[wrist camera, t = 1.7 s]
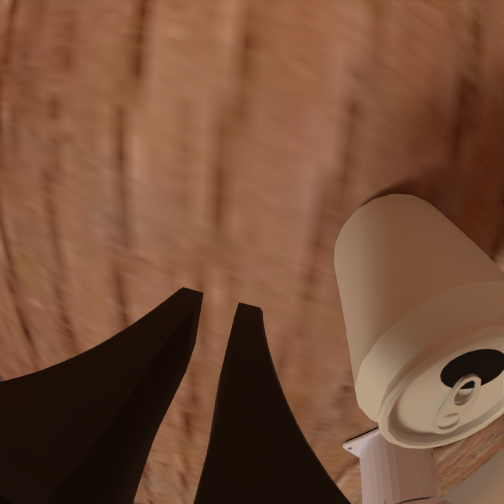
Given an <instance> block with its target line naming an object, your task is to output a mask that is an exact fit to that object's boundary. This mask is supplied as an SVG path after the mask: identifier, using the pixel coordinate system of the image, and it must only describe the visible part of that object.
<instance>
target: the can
mask: <svg viewBox="0 0 504 504" xmlns="http://www.w3.org/2000/svg"><path fill="white" fill-rule="evenodd" d="M334 267H335V272H336V277H337V282H338V287H339V293H340V298H341V303H342V309H343V315H344V320H345V326H346V332H347V338H348V344H349V351H350V357H351V364H352V371H353V378H354V385H355V391H356V396H357V401H358V406H359V407H360V408H361V409H362V410H363V411H364V413H365V414H366V415H367V416H368V417H369V418H370V419H371V420H373V421H375V422H377V423H378V425H379V432H380V433H381V434H382V435H383V436H384V437H385V438H386V439H387V441H388V442H391V443H393V444H396V445H399V446H401V447H404V448H417V449H425V448H432V447H437V446H443V445H446V444H449V443H452V442H455V441H458V440H461V439H463V438H466V437H468V436H470V435H471V434H473V433H475V432H477V431H479V430H481V429H483V428H484V427H486V426H487V425H489V424H490V423H491V422H493V421H494V420H495V419H497V418H498V417H499V416H501V415H502V414H503V413H504V272H503V271H502V270H501V269H500V268H499V267H498V266H497V265H496V264H495V263H494V262H493V261H492V260H491V259H490V258H489V257H488V256H487V255H486V254H485V253H484V252H483V251H482V250H481V249H480V248H479V247H478V246H477V245H476V244H475V243H474V242H473V241H472V240H471V239H470V238H469V237H468V236H467V235H466V234H465V233H463V232H462V231H461V230H460V229H459V228H458V227H457V226H456V225H455V224H453V223H452V222H451V221H450V220H449V219H448V218H447V217H446V216H444V215H443V214H442V213H441V212H440V211H439V210H437V209H436V208H435V207H434V206H433V205H432V204H430V203H429V202H427V201H425V200H423V199H420V198H418V197H416V196H414V195H406V194H390V195H386V196H383V197H379V198H375V199H373V200H371V201H370V202H368V203H367V204H365V205H363V206H362V207H360V208H359V209H357V210H356V211H355V212H354V213H353V215H352V216H351V217H350V218H349V219H348V220H347V222H346V223H345V224H344V225H343V227H342V229H341V232H340V234H339V236H338V239H337V241H336V243H335V251H334Z"/></svg>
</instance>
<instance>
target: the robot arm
mask: <svg viewBox="0 0 504 504" xmlns="http://www.w3.org/2000/svg"><path fill="white" fill-rule="evenodd" d="M202 299H203V293H202V292H199V291H195V290H192V289H188V288H184V287H183V288H181V289H179V290H178V291H177V292H175V293H174V294H173V295H172V296H170V297H169V298H168V299H166V300H165V301H164V302H163V303H161V304H160V305H159V306H157V307H156V308H155V309H153V310H152V311H151V312H149V313H148V314H146V315H145V316H144V317H142V318H141V319H139V320H138V321H136V322H135V323H134V324H132V325H131V326H129V327H127V328H126V329H124V330H123V331H121V332H119V333H118V334H116V335H115V336H113V337H111V338H110V339H108V340H106V341H104V342H103V343H101V344H99V345H97V346H95V347H94V348H92V349H90V350H88V351H86V352H84V353H82V354H80V355H77V356H75V357H73V358H71V359H68V360H66V361H64V362H61V363H59V364H56V365H54V366H51V367H49V368H46V369H44V370H41V371H38V372H34V373H31V374H28V375H25V376H21V377H18V378H14V379H10V380H6V381H2V382H0V504H133V502H134V498H135V495H136V492H137V488H138V485H139V482H140V479H141V476H142V473H143V470H144V467H145V464H146V461H147V458H148V455H149V452H150V449H151V446H152V443H153V440H154V438H155V436H156V433H157V431H158V428H159V426H160V424H161V422H162V420H163V418H164V416H165V414H166V412H167V410H168V408H169V406H170V404H171V402H172V399H173V397H174V395H175V393H176V391H177V389H178V387H179V385H180V383H181V381H182V379H183V377H184V374H185V372H186V370H187V367H188V364H189V361H190V358H191V355H192V352H193V349H194V346H195V343H196V336H197V330H198V323H199V317H200V311H201V305H202ZM343 448H344V449H346V450H347V451H349V452H351V453H352V454H354V455H356V456H357V457H359V458H360V469H361V484H362V504H440V503H439V500H438V498H439V496H440V492H441V485H440V480H439V475H438V470H437V465H436V461H435V456H434V452H433V448H434V447H432V448H425V449H417V448H404V447H401V446H399V445H396V444H393V443H391V442H388V441H387V439H386V438H385V437H384V436H383V435H382V434H381V433H380V432H379V428H378V429H376V430H373V431H371V432H369V433H367V434H364V435H362V436H360V437H357V438H355V439H353V440H350V441H348V442H345V443H344V444H343ZM194 504H351V503H350V502H349V500H348V499H347V498H346V497H345V496H344V495H343V493H342V492H341V491H340V489H339V488H338V487H337V485H336V484H335V483H334V481H333V480H332V479H331V477H330V476H329V475H328V473H327V472H326V470H325V469H324V467H323V466H322V464H321V463H320V461H319V460H318V458H317V456H316V455H315V453H314V452H313V450H312V449H311V447H310V446H309V444H308V442H307V441H306V439H305V437H304V435H303V433H302V431H301V430H300V428H299V426H298V424H297V422H296V420H295V418H294V416H293V414H292V412H291V410H290V407H289V405H288V403H287V400H286V398H285V396H284V393H283V391H282V388H281V385H280V383H279V380H278V377H277V374H276V371H275V368H274V365H273V362H272V358H271V355H270V351H269V347H268V343H267V339H266V334H265V329H264V323H263V312H262V310H261V308H259V307H255V306H251V305H247V304H244V303H240V302H239V304H238V307H237V310H236V313H235V317H234V321H233V325H232V329H231V333H230V337H229V341H228V345H227V349H226V353H225V358H224V362H223V366H222V370H221V374H220V378H219V383H218V389H217V395H216V401H215V407H214V413H213V420H212V426H211V432H210V439H209V445H208V449H207V454H206V459H205V462H204V466H203V470H202V474H201V477H200V481H199V485H198V489H197V492H196V496H195V500H194ZM441 504H452V503H449V502H447V501H443V502H441Z"/></svg>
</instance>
